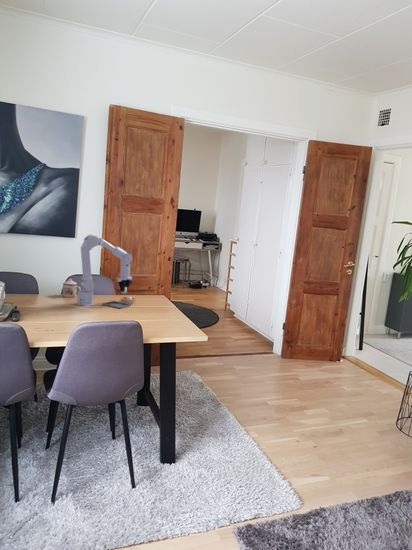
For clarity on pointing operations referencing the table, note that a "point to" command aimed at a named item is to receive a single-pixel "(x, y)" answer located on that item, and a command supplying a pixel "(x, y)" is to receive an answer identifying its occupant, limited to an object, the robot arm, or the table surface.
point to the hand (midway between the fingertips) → (124, 291)
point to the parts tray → (116, 304)
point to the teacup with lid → (70, 288)
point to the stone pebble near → (125, 290)
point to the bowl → (123, 300)
